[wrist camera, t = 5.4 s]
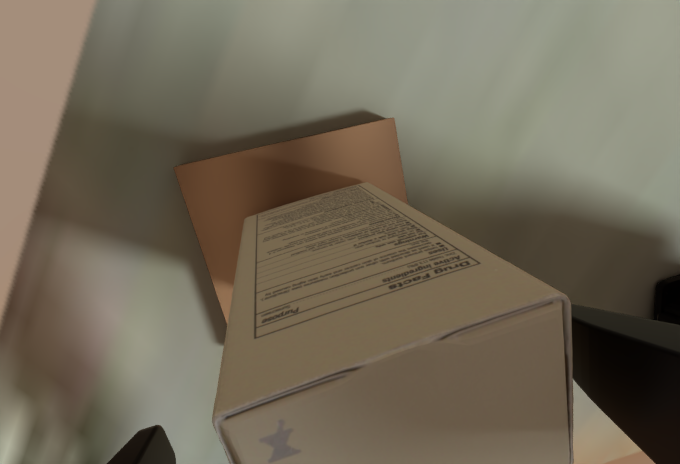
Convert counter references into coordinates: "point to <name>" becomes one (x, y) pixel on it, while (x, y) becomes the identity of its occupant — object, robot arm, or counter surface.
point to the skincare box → (388, 343)
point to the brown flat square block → (281, 185)
